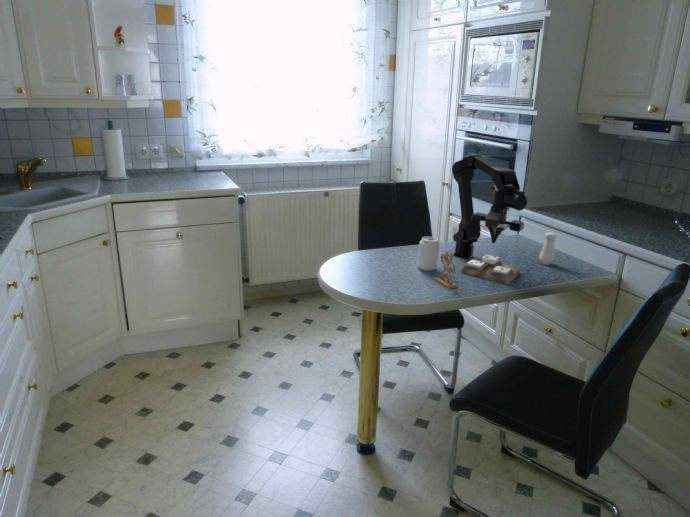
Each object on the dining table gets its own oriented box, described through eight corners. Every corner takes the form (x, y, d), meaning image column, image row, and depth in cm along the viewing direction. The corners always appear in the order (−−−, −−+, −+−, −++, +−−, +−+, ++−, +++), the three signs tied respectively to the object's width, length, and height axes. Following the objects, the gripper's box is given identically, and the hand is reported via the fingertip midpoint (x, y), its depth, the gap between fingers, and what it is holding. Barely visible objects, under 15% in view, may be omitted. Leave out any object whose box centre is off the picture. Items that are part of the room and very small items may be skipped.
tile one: (492, 273, 189) (493, 268, 188) (496, 270, 193) (497, 265, 192) (506, 277, 186) (506, 272, 186) (510, 273, 190) (510, 268, 190)
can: (438, 267, 198) (442, 237, 194) (433, 273, 192) (437, 242, 188) (420, 263, 201) (423, 234, 197) (414, 269, 194) (417, 239, 190)
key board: (461, 272, 194) (462, 264, 193) (474, 262, 206) (475, 255, 205) (507, 284, 185) (509, 276, 184) (519, 273, 197) (521, 265, 196)
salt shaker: (553, 266, 207) (560, 235, 203) (539, 264, 208) (545, 234, 204) (551, 262, 213) (557, 232, 208) (537, 260, 214) (542, 230, 209)
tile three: (466, 267, 194) (467, 262, 193) (471, 263, 198) (472, 259, 197) (479, 270, 191) (480, 265, 191) (484, 267, 195) (484, 262, 195)
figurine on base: (457, 287, 179) (462, 255, 175) (448, 288, 178) (453, 256, 174) (442, 278, 187) (446, 247, 183) (433, 279, 185) (437, 248, 181)
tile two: (481, 261, 198) (482, 256, 197) (485, 258, 202) (486, 253, 201) (494, 264, 195) (495, 259, 195) (498, 261, 199) (499, 256, 199)
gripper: (468, 202, 189) (462, 242, 194) (519, 212, 179) (511, 254, 185) (479, 197, 197) (473, 236, 203) (528, 207, 188) (520, 247, 193)
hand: (493, 243), depth 196 cm, fingers closed
